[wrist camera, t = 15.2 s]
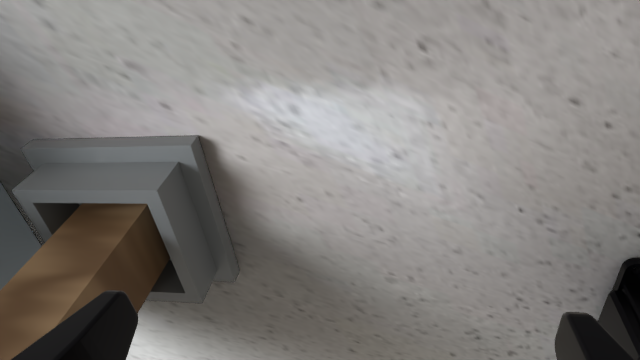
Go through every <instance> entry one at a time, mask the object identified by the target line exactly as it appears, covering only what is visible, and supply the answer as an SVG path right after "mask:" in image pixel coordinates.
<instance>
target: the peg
mask: <svg viewBox="0 0 640 360" xmlns="http://www.w3.org/2000/svg"><path fill="white" fill-rule="evenodd" d="M169 259H170V256H169V254H168V251H167V249H166V247H165V244H164V242H163V240H162V237H161V235H160V233H159V230H158V228H157V226H156V223H155V221H154V219H153V216H152V214H151V212H150V209H149V207H148V205H147V204H120V203H82V204H81V205H80V206H79V207H78V209H77V210H76V211H75V212H74V213H73V214H72V215H71V216H70V217H69V218H68V219H67V220H66V221H65V222H64V223H63V224H62V225H61V227H60V228H59V229H58V230H57V231H56V232H55V233H54V234H53V235H52V236H51V237H50V238H49V239H48V240H47V241H46V242H45V244H44V245H43V246H42V247H41V248H40V249H39V250H38V251H37V252H36V253H35V254H34V255H33V256H32V257H31V258H30V259H29V261H28V262H27V263H26V264H25V265H24V266H23V267H22V268H21V269H20V270H19V271H18V272H17V273H16V274H15V275H14V276H13V277H12V279H11V280H10V281H9V282H8V283H7V284H6V285H5V286H4V287H3V288H2V289H1V290H0V360H11V359H12V358H13V357H15V356H16V355H18V354H19V353H20V352H22V351H23V350H24V349H26V348H27V347H29V346H30V345H31V344H33V343H34V342H35V341H37V340H38V339H39V338H41V337H42V336H44V335H45V334H46V333H48V332H49V331H50V330H52V329H53V328H55V327H56V326H57V325H59V324H60V323H61V322H63V321H64V320H66V319H67V318H68V317H70V316H71V315H72V314H74V313H75V312H76V311H78V310H79V309H81V308H82V307H83V306H85V305H86V304H87V303H89V302H90V301H92V300H93V299H94V298H96V297H97V296H98V295H100V294H101V293H103V292H105V291H107V290H116V291H124V292H125V293H126V294H127V295H128V297H129V299H130V301H131V303H132V304H133V306H134V308H135V310H136V312H137V313H138V312H139V310H140V308H141V307H142V305H143V303H144V301H145V300H146V298H147V296H148V295H149V293H150V291H151V290H152V288H153V286H154V285H155V283H156V281H157V280H158V278H159V276H160V274H161V273H162V271H163V269H164V268H165V266H166V264H167V263H168V261H169Z"/></svg>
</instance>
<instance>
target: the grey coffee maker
mask: <svg viewBox="0 0 640 360" xmlns="http://www.w3.org/2000/svg"><path fill="white" fill-rule="evenodd" d="M41 247H42V246H41V245H40V243H39V241H38V240H37V238H36V237H35V235H34V234H33V232H32V231H31V229H30V227H29V226H28V224H27V223H26V221H25V220H24V218H23V217H22V215H21V214H20V212H19V210H18V209H17V207H16V206H15V204H14V203H13V201H12V200H11V198H10V196H9V195H8V193H7V192H6V190H5V189H4V187H3V186H2V184H1V183H0V290H1V289H2V288H3V287H4V286H5V285H6V284H7V283H8V282H9V281H10V280H11V279H12V277H13V276H14V275H15V274H16V273H17V272H18V271H19V270H20V269H21V268H22V267H23V266H24V265H25V264H26V263H27V262H28V261H29V259H30V258H31V257H32V256H33V255H34V254H35V253H36V252H37V251H38V250H39V249H40V248H41Z"/></svg>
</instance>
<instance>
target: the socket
mask: <svg viewBox="0 0 640 360" xmlns="http://www.w3.org/2000/svg"><path fill="white" fill-rule="evenodd" d="M21 151H22V152H23V154H24V156H25V158H26V159H27V161H28V163H29V164H30V166H31V168H32V170H33V171H34V172H33V173H31V174H30V175H29V176H28V177H27V178H26V179H24V180H23V181H22V182H21V183H20V184H18V185H17V186H16V187H15V188H14V189H12V190H11V191H12V192H13V194H14V195H15V197H16V198H17V200H18V202H19V203H20V205H21V206H22V208H23V209H24V211H25V213H26V214H27V216H28V217H29V219H30V220H31V222H32V224H33V225H34V227H35V228H36V230H37V231H38V233H39V235H40V236H41V238H42V239H43V241H44V242H46V241H47V240H48V239H49V238H50V237H51V236H52V235H53V234H54V233H55V232H56V231H57V230H58V229H59V228H60V227H61V225H62V224H63V223H64V222H65V221H66V220H67V219H68V218H69V217H70V216H71V215H72V214H73V213H74V212H75V211H76V210H77V209H78V207H79V206H80V205H81V204H82V203H120V204H147V205H148V207H149V209H150V212H151V214H152V216H153V219H154V221H155V223H156V226H157V228H158V230H159V233H160V235H161V237H162V240H163V242H164V244H165V247H166V249H167V251H168V254H169V256H170V259H169V261H168V263H167V264H166V266H165V268H164V269H163V271H162V273H161V274H160V276H159V278H158V280H157V281H156V283H155V285H154V286H153V288H152V290H151V291H150V293H149V295H148V296H147V298H146V300H149V301H168V302H186V303H203V301H204V299H205V296H206V294H207V292H208V290H209V288H210V285H211V283H212V281H220V282H235V281H236V278H237V276H238V273H239V271H240V270H239V266H238V263H237V260H236V257H235V253H234V250H233V247H232V244H231V241H230V237H229V234H228V231H227V228H226V224H225V221H224V218H223V215H222V212H221V208H220V205H219V202H218V199H217V195H216V192H215V189H214V186H213V182H212V179H211V176H210V173H209V170H208V166H207V163H206V160H205V157H204V153H203V150H202V147H201V144H200V141H199V137H198V136H159V137H118V138H78V139H37V140H32V141H30V142H29V143H28V144H26V145H25V146H24V147H22V148H21Z"/></svg>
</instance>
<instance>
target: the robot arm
mask: <svg viewBox="0 0 640 360" xmlns="http://www.w3.org/2000/svg"><path fill="white" fill-rule="evenodd" d="M635 267H636V268H635ZM598 322H599V323H598ZM598 322H597V321H596V319H595V318H593V317H592V316H591V315H589V314H587V313H579V312H566V313H564V314H563V316H562V318H561V321H560V325H559V328H558V331H557V334H556V338H555V352H556V357H557V360H640V258H632V259H629V260H626V261H625V262H624V263H623V264H622V267H621V269H620V272H619V274H618V277H617V279H616V282H615V285H614V287H613V290H612V291H611V292H610V293H609V294H608V297H607V299H606V302H605V305H604V307H603V310H602V312H601V315H600V318H599V320H598ZM137 324H138V314H137V312H136V310H135V308H134V306H133V304H132V303H131V301H130V299H129V297H128V295H127V294H126V293H125V292H124V291H116V290H107V291H105V292H103V293H101V294H100V295H98V296H97V297H96V298H94V299H93V300H92V301H90V302H89V303H87V304H86V305H85V306H83V307H82V308H81V309H79V310H78V311H76V312H75V313H74V314H72V315H71V316H70V317H68V318H67V319H66V320H64V321H63V322H61V323H60V324H59V325H57V326H56V327H55V328H53V329H52V330H50V331H49V332H48V333H46V334H45V335H44V336H42V337H41V338H39V339H38V340H37V341H35V342H34V343H33V344H31V345H30V346H29V347H27V348H26V349H24V350H23V351H22V352H20V353H19V354H18V355H16V356H15V357H13V358H12V359H11V360H126V357H127V354H128V351H129V348H130V345H131V342H132V339H133V336H134V333H135V330H136V327H137Z"/></svg>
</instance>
